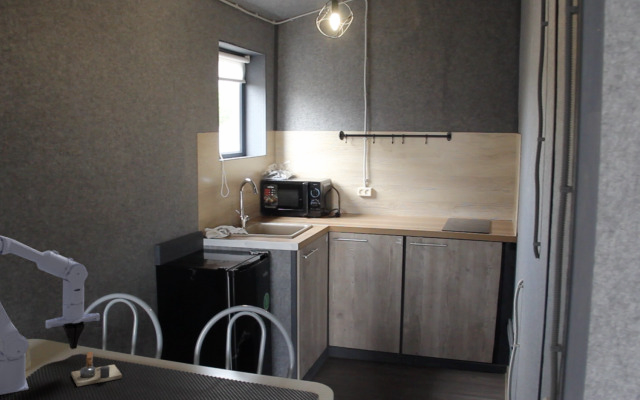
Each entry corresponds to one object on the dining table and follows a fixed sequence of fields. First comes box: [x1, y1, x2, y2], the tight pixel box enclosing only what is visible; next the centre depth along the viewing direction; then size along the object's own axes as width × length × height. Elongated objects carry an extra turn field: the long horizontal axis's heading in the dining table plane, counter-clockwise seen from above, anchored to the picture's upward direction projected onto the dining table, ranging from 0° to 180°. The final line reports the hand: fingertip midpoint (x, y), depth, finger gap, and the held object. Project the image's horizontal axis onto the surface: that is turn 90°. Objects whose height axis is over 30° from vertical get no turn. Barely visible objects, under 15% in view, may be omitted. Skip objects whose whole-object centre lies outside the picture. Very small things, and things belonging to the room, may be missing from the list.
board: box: [70, 364, 123, 387], centre depth 156 cm, size 12×9×1 cm
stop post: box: [100, 365, 109, 378], centre depth 153 cm, size 2×2×3 cm
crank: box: [79, 351, 96, 378], centre depth 157 cm, size 12×4×3 cm, turn 19°
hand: (73, 347), depth 158 cm, fingers closed
